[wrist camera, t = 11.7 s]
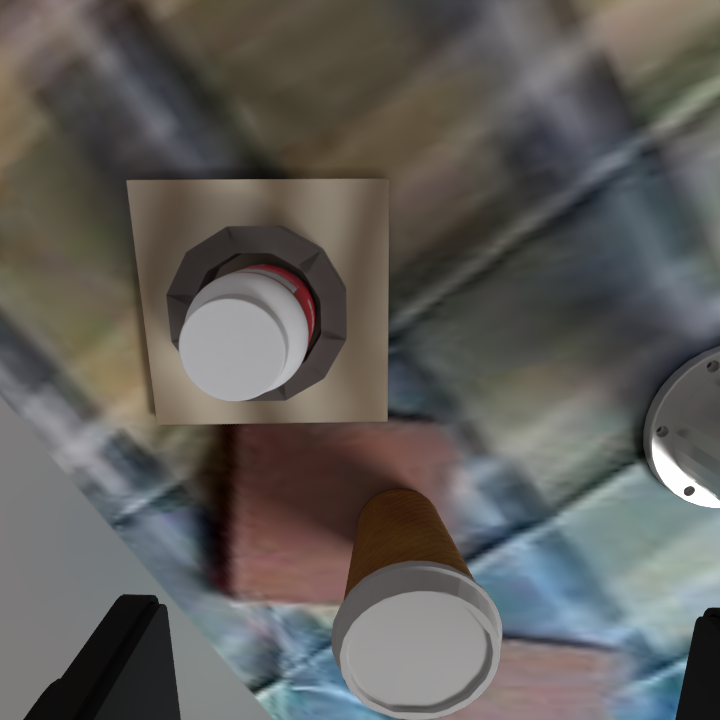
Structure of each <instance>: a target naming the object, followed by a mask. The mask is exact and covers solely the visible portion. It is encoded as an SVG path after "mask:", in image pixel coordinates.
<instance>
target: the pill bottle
mask: <svg viewBox="0 0 720 720" xmlns="http://www.w3.org/2000/svg"><path fill="white" fill-rule="evenodd" d="M316 316H317V308H316V302H315V298H314V295H313V293H312V291H311V289H310V287H309V285H308V284H307V283H306V281H305V280H304V279H303V278H302V277H301V276H300V275H299V274H297V273H296V272H294V271H293V270H291V269H289V268H287V267H285V266H282V265H278V264H273V263H261V264H256V265H251V266H248V267H246V268H243V269H241V270H238V271H236V272H232V273H230V274H227V275H225V276H222V277H220V278H217V279H215V280H214V281H212V282H211V283H209V284H208V285H207V286H205V287H204V288H203V289H202V290H201V291H200V292H199V293H198V294H197V296H196V297H195V298H194V300H193V301H192V303H191V305H190V307H189V309H188V311H187V314H186V318H185V323H184V325H183V327H182V330H181V333H180V337H179V355H180V360H181V363H182V366H183V368H184V370H185V372H186V374H187V375H188V377H189V378H190V380H191V381H192V382H193V383H194V384H195V385H196V386H197V387H198V388H199V389H201V390H202V391H203V392H205V393H207V394H208V395H210V396H213V397H215V398H218V399H221V400H226V401H244V400H249V399H252V398H255V397H257V396H259V395H261V394H263V393H265V392H268V391H271V390H273V389H275V388H277V387H279V386H281V385H282V384H284V383H285V382H286V381H287V380H289V379H290V378H291V377H292V376H293V375H294V373H295V372H296V371H297V369H298V368H299V367H300V365H301V363H302V361H303V359H304V357H305V354H306V351H307V348H308V345H309V342H310V339H311V336H312V333H313V330H314V327H315V323H316Z"/></svg>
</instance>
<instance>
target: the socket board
mask: <svg viewBox="0 0 720 720" xmlns="http://www.w3.org/2000/svg"><path fill="white" fill-rule="evenodd" d="M126 182H127V190H128V198H129V206H130V214H131V222H132V230H133V238H134V245H135V253H136V261H137V269H138V277H139V285H140V293H141V301H142V309H143V316H144V324H145V332H146V340H147V348H148V356H149V364H150V372H151V380H152V387H153V395H154V403H155V411H156V419H157V425H186V424H255V423H323V422H387V416H388V295H389V179H232V180H126ZM261 263H273V264H278V265H282V266H285V267H287V268H289V269H291V270H293V271H294V272H296V273H297V274H299V275H300V276H301V277H302V278H303V279H304V280H305V281H306V283H307V284H308V285H309V287H310V289H311V291H312V293H313V295H314V298H315V302H316V308H317V316H316V323H315V327H314V330H313V333H312V336H311V339H310V342H309V345H308V348H307V351H306V354H305V357H304V359H303V361H302V363H301V365H300V367H299V368H298V369H297V371H296V372H295V373H294V375H293V376H292V377H291V378H290V379H289V380H287V381H286V382H285V383H284V384H282V385H281V386H279V387H277V388H275V389H273V390H271V391H268V392H265V393H263V394H261V395H259V396H257V397H255V398H252V399H249V400H244V401H226V400H221V399H218V398H215V397H213V396H210V395H208V394H207V393H205V392H203V391H202V390H201V389H199V388H198V387H197V386H196V385H195V384H194V383H193V382H192V381H191V380H190V378H189V377H188V375H187V374H186V372H185V370H184V368H183V366H182V363H181V360H180V355H179V337H180V333H181V330H182V327H183V325H184V323H185V318H186V314H187V311H188V309H189V307H190V305H191V303H192V301H193V300H194V298H195V297H196V296H197V294H198V293H199V292H200V291H201V290H202V289H203V288H204V287H205V286H207V285H208V284H209V283H211V282H212V281H214V280H215V279H217V278H220V277H222V276H225V275H227V274H230V273H232V272H236V271H238V270H241V269H243V268H246V267H248V266H251V265H256V264H261Z"/></svg>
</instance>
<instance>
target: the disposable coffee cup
mask: <svg viewBox="0 0 720 720" xmlns="http://www.w3.org/2000/svg"><path fill="white" fill-rule="evenodd" d="M331 640H332V651H333V654H334V657H335V660H336V662H337V665H338V667H339V668H340V670H341V673H342V676H343V678H344V680H345V681H346V683H347V685H348V687H349V689H350V691H351V692H352V693H353V694H354V695H355V696H356V697H357V698H358V699H359V700H360V701H361V702H362V703H363V704H365V705H366V706H368V707H370V708H371V709H373V710H374V711H377V712H380V713H383V714H386V715H389V716H392V717H395V718H399V719H408V720H423V719H432V718H437V717H442V716H445V715H448V714H451V713H453V712H455V711H457V710H459V709H461V708H464V707H466V706H467V705H469V704H470V703H471V702H472V701H474V700H475V699H476V698H477V697H479V696H480V695H481V694H482V693H483V692H484V690H485V689H486V688H487V687H488V686H489V685H490V683H491V681H492V679H493V677H494V675H495V673H496V671H497V668H498V664H499V659H500V646H501V640H502V623H501V620H500V616H499V613H498V610H497V608H496V606H495V604H494V602H493V600H492V599H491V598H490V596H489V595H488V594H487V593H486V591H485V590H484V589H483V588H482V586H480V585H479V584H478V583H476V582H475V580H474V579H473V577H472V575H471V573H470V571H469V570H468V568H467V566H466V564H465V562H464V560H463V559H462V556H461V555H460V553H459V551H458V550H457V548H456V546H455V544H454V542H453V540H452V538H451V537H450V535H449V533H448V531H447V529H446V528H445V526H444V524H443V522H442V520H441V518H440V517H439V515H438V513H437V511H436V509H435V507H434V505H433V504H432V503H431V502H430V501H429V500H428V499H427V498H426V497H424V496H423V495H421V494H419V493H417V492H415V491H410V490H406V489H394V490H389V491H385V492H382V493H380V494H378V495H376V496H375V497H373V498H372V499H371V500H369V502H368V503H367V504H366V505H365V506H364V508H363V509H362V511H361V513H360V516H359V519H358V525H357V531H356V536H355V541H354V547H353V552H352V558H351V563H350V569H349V574H348V580H347V585H346V590H345V596H344V601H343V602H342V604H341V606H340V608H339V611H338V613H337V615H336V617H335V619H334V623H333V629H332V637H331Z"/></svg>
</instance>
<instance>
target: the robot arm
mask: <svg viewBox="0 0 720 720" xmlns="http://www.w3.org/2000/svg"><path fill="white" fill-rule="evenodd" d="M643 447H644V451H645V456H646V460H647V462H648V464H649V466H650V469H651V471H652V473H653V474H654V475H655V476H656V478H657V479H658V480H659V481H660V483H662V484H663V485H664V486H665V487H666V488H667V489H669V490H670V491H671V492H672V493H673V494H675V495H676V496H678V497H679V498H681V499H683V500H685V501H687V502H690V503H693V504H695V505H698V506H704V507H710V508H720V346H718V347H715V348H712V349H710V350H707V351H704V352H703V353H701V354H699V355H697V356H696V357H694V358H692V359H690V360H689V361H687V362H686V363H685V364H684V365H682V366H681V367H680V368H679V369H677V370H676V371H675V372H674V373H673V374H672V375H671V376H670V377H669V379H668V380H667V381H666V382H665V383H664V384H663V385H662V387H661V388H660V390H659V391H658V393H657V394H656V396H655V398H654V399H653V401H652V404H651V406H650V408H649V411H648V413H647V416H646V421H645V425H644V430H643ZM23 720H181V719H180V710H179V702H178V693H177V685H176V677H175V669H174V660H173V652H172V644H171V637H170V628H169V620H168V611H167V607H166V605H164V604H159V602H158V598H157V597H156V596H155V595H129V594H126V595H125V594H124V595H122V596H120V597H119V598H118V599H117V600H116V601H115V603H114V604H113V606H112V607H111V608H110V610H109V611H108V613H107V614H106V616H105V617H104V618H103V620H102V621H101V623H100V624H99V625H98V627H97V628H96V630H95V631H94V633H93V634H92V635H91V637H90V638H89V640H88V641H87V643H86V644H85V645H84V647H83V648H82V649H81V651H80V652H79V654H78V655H77V657H76V658H75V659H74V661H73V662H72V663H71V665H70V666H69V668H68V669H67V671H66V672H65V673H64V675H63V676H62V678H61V679H57V680H56V681H54V682H53V683H52V684H50V685H49V687H48V688H47V689H46V690H45V691H44V692H43V693H42V695H41V696H40V698H39V699H38V700H37V702H36V703H35V704H34V706H33V707H32V708H31V710H30V711H29V713H28V714H27V715H26V717H25V718H24V719H23ZM675 720H720V608H708V609H707V610H706V611H705V613H704V615H703V617H699V618H698V619H697V620H696V623H695V627H694V632H693V637H692V642H691V646H690V651H689V656H688V661H687V666H686V671H685V676H684V680H683V685H682V690H681V695H680V700H679V705H678V710H677V714H676V719H675Z"/></svg>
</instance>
